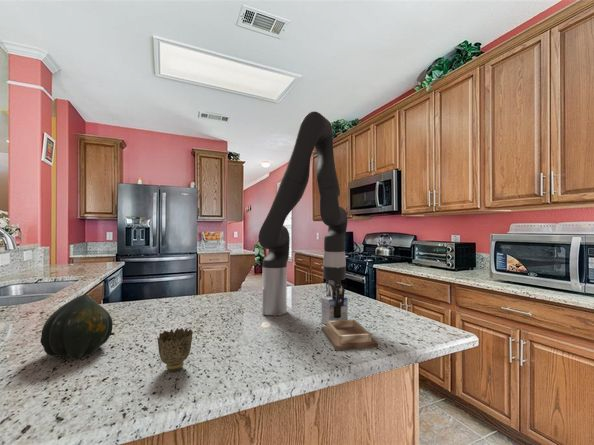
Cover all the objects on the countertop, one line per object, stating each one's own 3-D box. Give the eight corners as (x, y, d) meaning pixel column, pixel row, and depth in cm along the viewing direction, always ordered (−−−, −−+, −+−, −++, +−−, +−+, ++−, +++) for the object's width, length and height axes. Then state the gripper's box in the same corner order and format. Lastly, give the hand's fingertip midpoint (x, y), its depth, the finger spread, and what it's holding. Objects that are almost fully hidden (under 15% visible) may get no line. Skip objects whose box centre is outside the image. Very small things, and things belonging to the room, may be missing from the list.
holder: (335, 350, 74) (335, 338, 74) (321, 329, 89) (321, 320, 89) (378, 346, 76) (378, 335, 76) (357, 327, 91) (357, 318, 91)
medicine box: (328, 326, 92) (328, 299, 92) (321, 322, 96) (321, 296, 96) (348, 322, 95) (348, 297, 96) (340, 319, 99) (340, 294, 100)
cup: (164, 361, 68) (164, 327, 68) (196, 360, 69) (196, 327, 69) (151, 377, 61) (151, 340, 61) (186, 376, 61) (186, 339, 61)
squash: (38, 351, 61) (91, 290, 70) (16, 339, 69) (66, 286, 78) (94, 374, 69) (135, 317, 78) (69, 361, 77) (108, 311, 86)
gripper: (318, 262, 102) (318, 309, 102) (329, 268, 88) (329, 322, 88) (338, 261, 104) (338, 308, 103) (352, 267, 89) (352, 321, 89)
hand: (334, 314), depth 96 cm, fingers closed on medicine box, 5 cm apart
